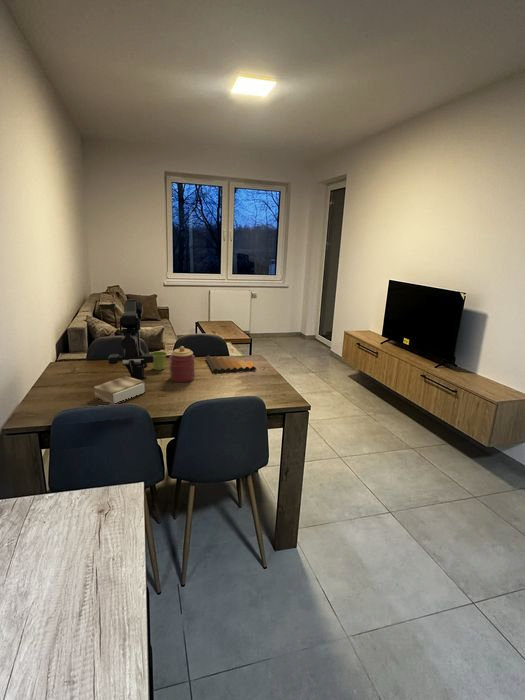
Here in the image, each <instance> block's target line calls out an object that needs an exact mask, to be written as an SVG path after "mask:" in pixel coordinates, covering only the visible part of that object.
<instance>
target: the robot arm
mask: <svg viewBox="0 0 525 700" xmlns="http://www.w3.org/2000/svg"><path fill="white" fill-rule="evenodd" d="M123 311H124V312H123V313H122V314H121V316H120V317H119V333H120V334H123V335H122V336H123V337H122V338H121V341H120V345H121V352H122V353H124V356H120V354H118V353H115V354H114V353H113V354H110V355H109V356H108V358H107V359H108V360H107V362H108V365H117V364H118V363H119V362H122V366H123V367H124V366H125V368H126V370H128V372H129V374H130V377H131V378H135V379H138V380H141V381H143V380H145V379H147V376H145V369H146V368H148V364H153V362H154V354H153V353H152V352H150V353H147V352H146V353H145V352H144V350H142V348H141V338H140V337H141V336H140V334H141V333H140V331H141V319H142V315H143V314H144V307H143V303H142V302H139V301H138V299H134V298H133V299H129V298H128V299H126V301H125V302H124V304H123ZM142 379H143V380H142Z"/></svg>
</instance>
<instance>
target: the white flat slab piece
mask: <svg viewBox="0 0 525 700" xmlns="http://www.w3.org/2000/svg"><path fill="white" fill-rule="evenodd" d="M144 392H145V393H146V382H145V381H143V383H141V384H139V385H136V386H133V387H131V388H128V389H125V390H122V391H120V392H117V393H114V394H113V402H114V403H117V402H119V401H122V400H124V401H126V400H125V399H127V400H129V399H132V398H135V397H136V395H137V396H139V395H141V394H145V393H144ZM131 397H132V398H131ZM128 398H129V399H128ZM122 402H123V401H122ZM119 403H120V402H119ZM117 404H118V403H117Z"/></svg>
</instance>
